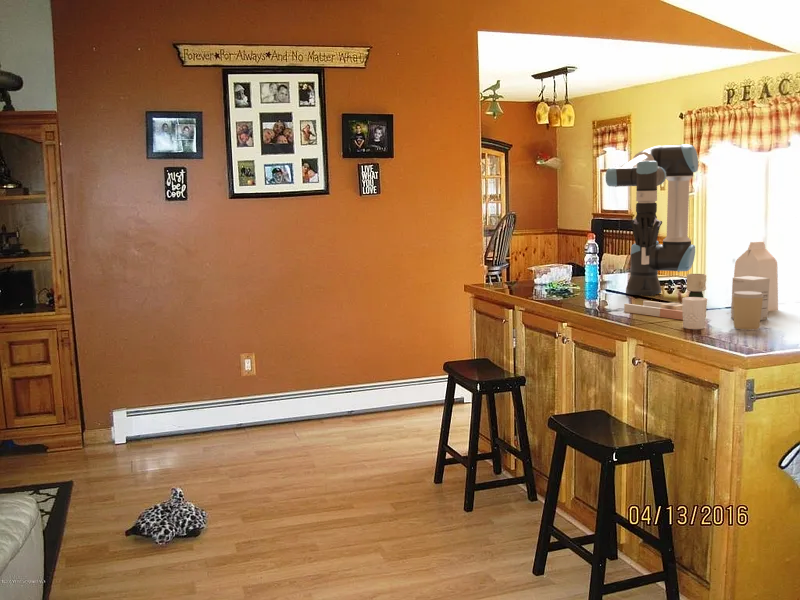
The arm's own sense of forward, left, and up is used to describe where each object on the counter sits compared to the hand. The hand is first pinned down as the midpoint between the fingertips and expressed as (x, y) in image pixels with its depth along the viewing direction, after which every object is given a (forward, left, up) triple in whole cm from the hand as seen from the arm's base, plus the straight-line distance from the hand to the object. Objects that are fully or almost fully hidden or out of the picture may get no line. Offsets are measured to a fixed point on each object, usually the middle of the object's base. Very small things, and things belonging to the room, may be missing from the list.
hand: (645, 264), depth 296 cm
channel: (+9, 0, -18) cm, 20 cm away
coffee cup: (+45, -5, -18) cm, 49 cm away
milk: (+26, +33, -18) cm, 46 cm away
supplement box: (+36, +12, -18) cm, 42 cm away
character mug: (+8, +22, -18) cm, 30 cm away
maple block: (+14, -1, -18) cm, 23 cm away
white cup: (+33, -17, -18) cm, 42 cm away
